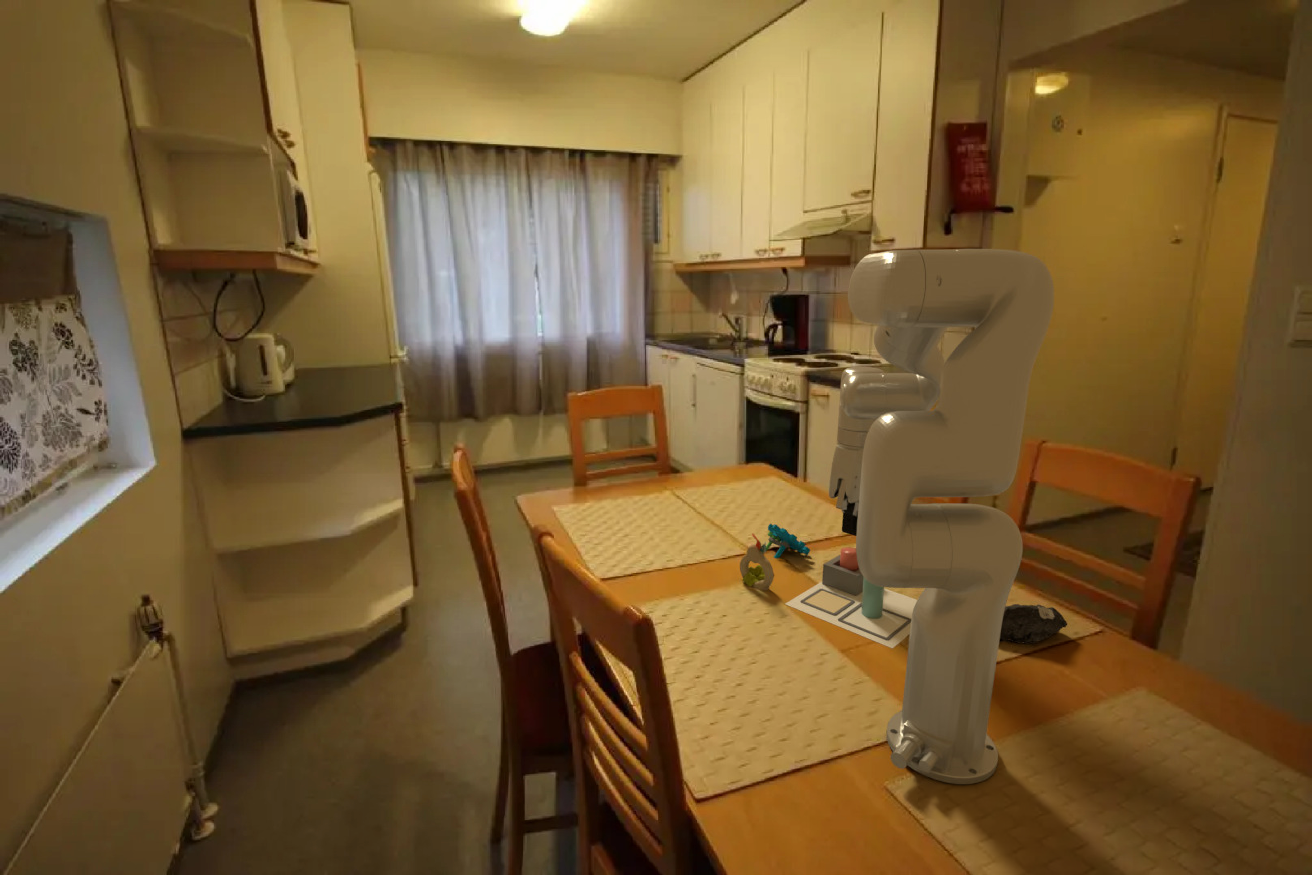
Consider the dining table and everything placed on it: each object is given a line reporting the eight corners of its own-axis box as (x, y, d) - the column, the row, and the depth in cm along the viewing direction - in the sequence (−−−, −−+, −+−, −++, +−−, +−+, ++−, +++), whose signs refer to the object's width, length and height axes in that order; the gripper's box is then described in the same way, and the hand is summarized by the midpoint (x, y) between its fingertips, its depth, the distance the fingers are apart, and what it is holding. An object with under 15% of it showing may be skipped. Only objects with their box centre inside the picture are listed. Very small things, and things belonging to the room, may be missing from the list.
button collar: (856, 596, 117) (857, 575, 116) (822, 583, 122) (823, 564, 121) (874, 583, 122) (876, 564, 121) (841, 572, 127) (842, 553, 126)
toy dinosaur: (821, 554, 132) (791, 526, 129) (805, 578, 131) (774, 550, 128) (788, 542, 142) (759, 516, 139) (773, 564, 141) (744, 538, 138)
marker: (876, 621, 109) (880, 560, 106) (857, 613, 111) (860, 554, 109) (886, 613, 111) (890, 553, 109) (867, 606, 114) (870, 548, 111)
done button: (852, 582, 119) (854, 556, 118) (835, 575, 122) (837, 551, 121) (862, 575, 122) (864, 551, 121) (845, 569, 124) (846, 545, 123)
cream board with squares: (892, 651, 101) (892, 647, 101) (784, 606, 115) (784, 603, 115) (939, 610, 113) (940, 607, 113) (837, 574, 127) (837, 571, 127)
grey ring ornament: (794, 588, 122) (797, 531, 119) (759, 598, 118) (761, 539, 115) (769, 573, 128) (771, 518, 125) (735, 582, 124) (737, 526, 122)
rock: (999, 619, 99) (1016, 569, 104) (964, 631, 107) (981, 583, 112) (1067, 667, 98) (1081, 613, 103) (1027, 675, 105) (1042, 625, 110)
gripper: (860, 426, 123) (853, 517, 128) (817, 440, 113) (811, 538, 118) (898, 433, 118) (889, 527, 122) (857, 449, 108) (849, 551, 112)
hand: (851, 532), depth 120 cm, fingers closed
